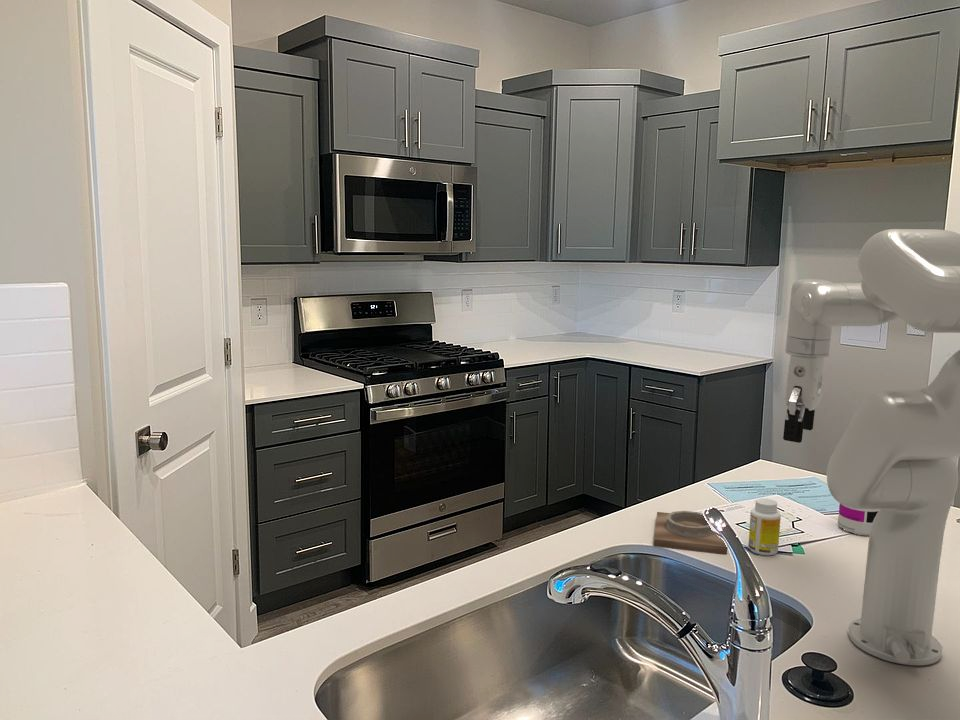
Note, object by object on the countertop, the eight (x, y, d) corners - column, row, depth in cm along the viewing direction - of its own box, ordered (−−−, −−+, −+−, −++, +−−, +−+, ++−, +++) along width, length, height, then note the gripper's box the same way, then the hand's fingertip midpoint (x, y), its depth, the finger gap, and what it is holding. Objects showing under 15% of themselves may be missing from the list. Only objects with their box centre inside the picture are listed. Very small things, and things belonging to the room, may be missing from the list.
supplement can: (842, 534, 160) (848, 465, 157) (834, 520, 168) (840, 455, 165) (884, 538, 158) (892, 469, 156) (874, 524, 166) (881, 458, 163)
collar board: (726, 554, 149) (728, 537, 148) (653, 546, 152) (654, 529, 152) (723, 525, 164) (724, 509, 164) (656, 518, 168) (657, 503, 167)
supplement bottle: (783, 551, 151) (787, 502, 149) (768, 559, 147) (772, 508, 145) (757, 542, 155) (761, 494, 153) (742, 549, 151) (745, 500, 150)
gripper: (820, 356, 132) (809, 450, 135) (837, 342, 146) (828, 427, 150) (775, 350, 136) (766, 442, 140) (796, 337, 150) (788, 421, 154)
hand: (798, 434), depth 145 cm, fingers open, 9 cm apart
